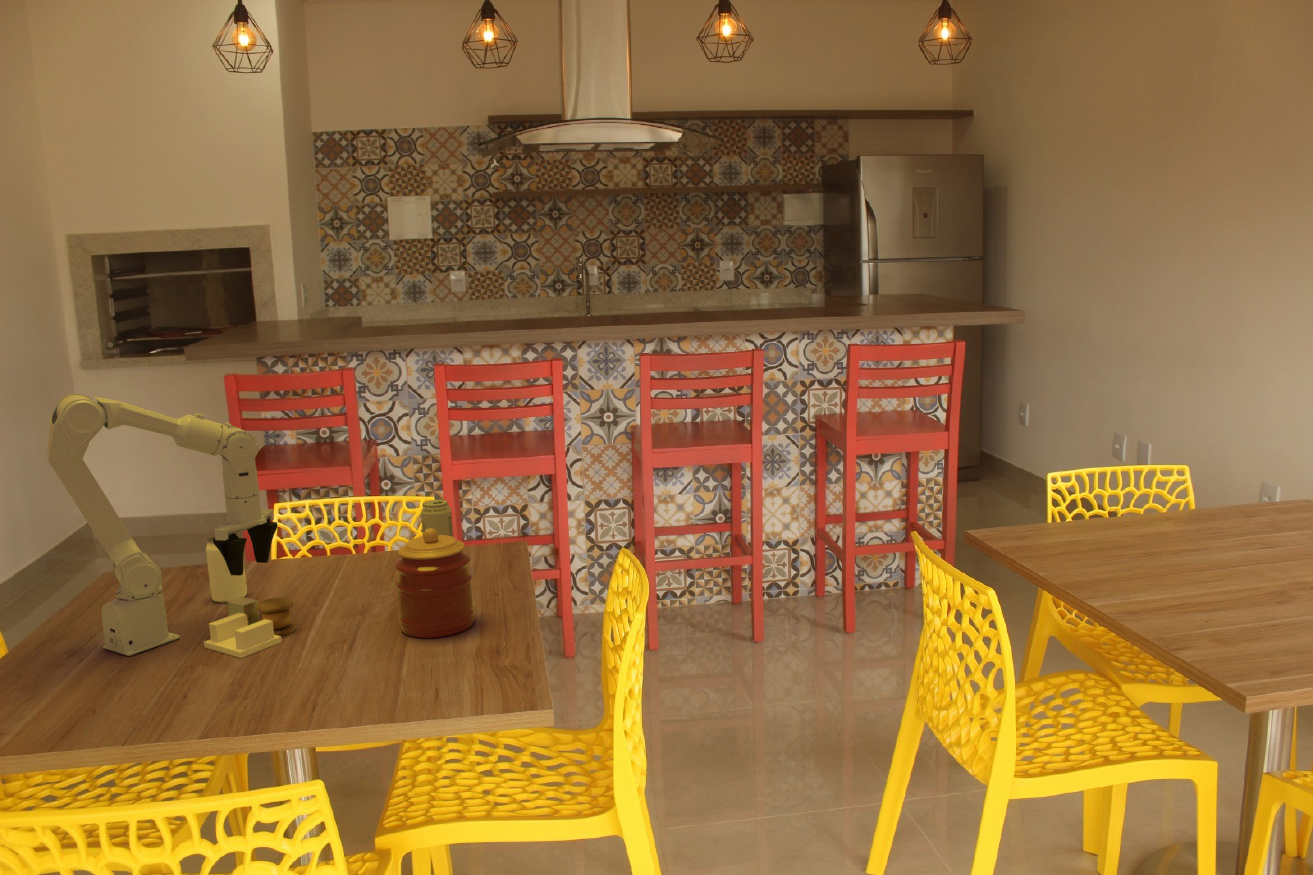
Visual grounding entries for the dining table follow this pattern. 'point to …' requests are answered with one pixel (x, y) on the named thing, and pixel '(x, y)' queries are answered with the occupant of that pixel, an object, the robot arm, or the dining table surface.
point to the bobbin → (278, 615)
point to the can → (223, 577)
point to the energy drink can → (437, 517)
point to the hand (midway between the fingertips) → (249, 568)
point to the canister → (434, 586)
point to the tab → (245, 608)
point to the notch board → (241, 636)
